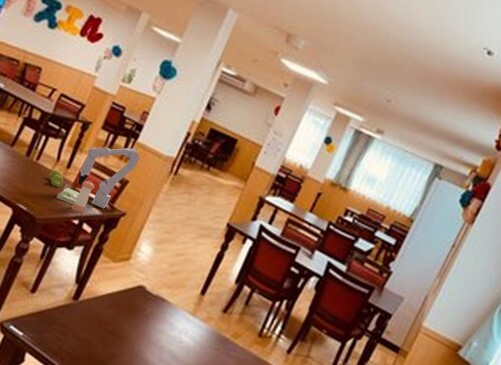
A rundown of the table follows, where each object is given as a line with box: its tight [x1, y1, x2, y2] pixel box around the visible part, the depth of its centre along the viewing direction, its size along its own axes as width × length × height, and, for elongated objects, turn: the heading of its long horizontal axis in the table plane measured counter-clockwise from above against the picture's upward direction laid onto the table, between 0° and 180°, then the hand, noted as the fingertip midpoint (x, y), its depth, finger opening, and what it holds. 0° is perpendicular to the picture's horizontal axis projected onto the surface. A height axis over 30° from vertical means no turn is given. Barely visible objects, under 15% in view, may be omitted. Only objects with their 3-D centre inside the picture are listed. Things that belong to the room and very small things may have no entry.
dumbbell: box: [48, 169, 64, 188], centre depth 345 cm, size 16×8×7 cm, turn 28°
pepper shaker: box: [71, 180, 95, 213], centre depth 310 cm, size 7×7×19 cm
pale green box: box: [56, 183, 80, 205], centre depth 328 cm, size 14×24×10 cm, turn 8°
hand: (79, 184), depth 335 cm, fingers closed
